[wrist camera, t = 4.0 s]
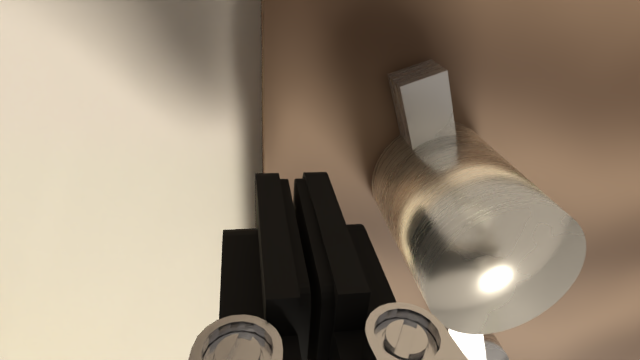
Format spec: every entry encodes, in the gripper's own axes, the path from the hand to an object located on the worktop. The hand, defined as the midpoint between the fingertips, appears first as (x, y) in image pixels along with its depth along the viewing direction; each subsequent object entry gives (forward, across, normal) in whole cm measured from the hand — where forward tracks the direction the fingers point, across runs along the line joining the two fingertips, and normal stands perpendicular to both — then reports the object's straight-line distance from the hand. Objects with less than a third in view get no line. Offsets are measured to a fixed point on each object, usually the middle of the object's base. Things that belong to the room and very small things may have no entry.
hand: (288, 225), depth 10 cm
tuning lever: (+2, -6, +3) cm, 7 cm away
